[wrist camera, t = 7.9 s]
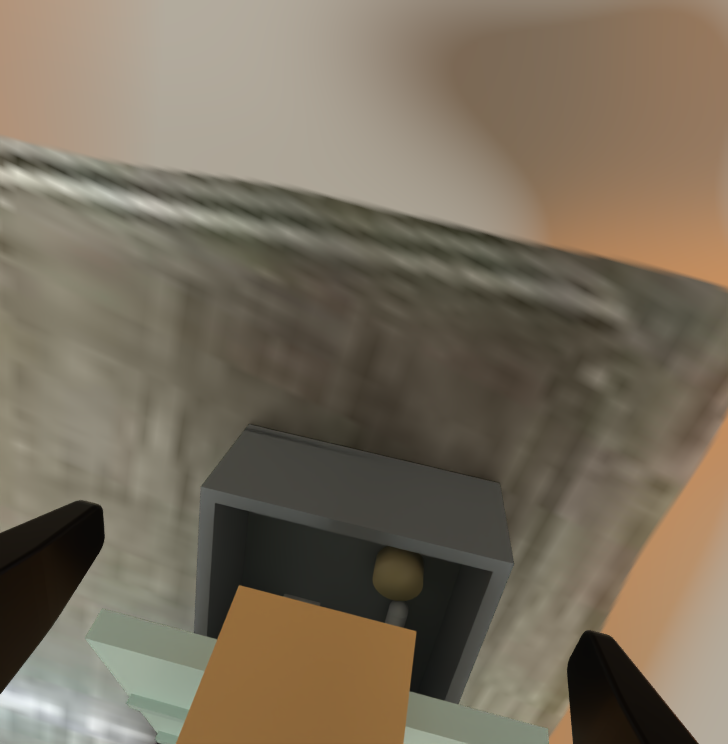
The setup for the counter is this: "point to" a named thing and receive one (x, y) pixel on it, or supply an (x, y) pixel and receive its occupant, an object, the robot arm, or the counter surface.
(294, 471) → the parts tub
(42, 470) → the counter surface
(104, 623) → the lid
